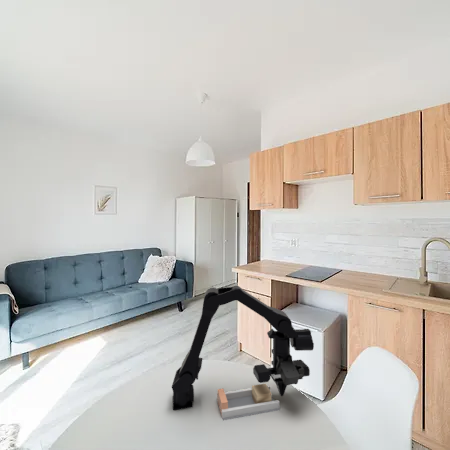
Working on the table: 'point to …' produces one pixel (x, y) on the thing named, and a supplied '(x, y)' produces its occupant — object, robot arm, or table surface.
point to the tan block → (261, 393)
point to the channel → (242, 404)
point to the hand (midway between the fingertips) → (281, 395)
